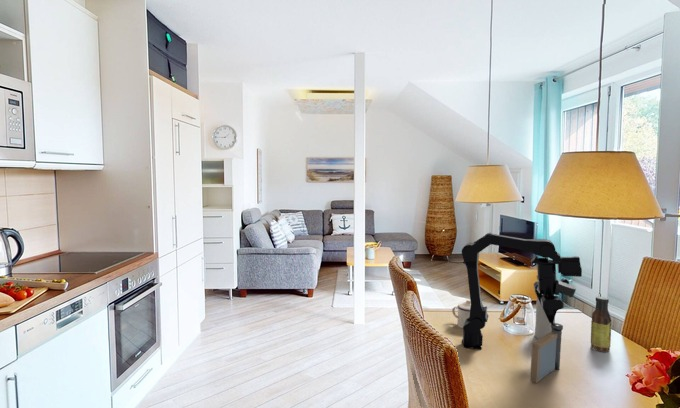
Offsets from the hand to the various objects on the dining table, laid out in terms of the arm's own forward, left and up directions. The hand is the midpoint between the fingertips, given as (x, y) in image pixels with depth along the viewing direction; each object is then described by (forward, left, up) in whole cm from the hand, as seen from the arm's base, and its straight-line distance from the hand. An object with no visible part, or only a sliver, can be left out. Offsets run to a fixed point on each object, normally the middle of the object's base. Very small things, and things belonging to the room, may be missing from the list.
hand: (548, 317), depth 133 cm
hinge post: (0, -7, -15) cm, 17 cm away
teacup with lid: (-25, +25, -15) cm, 38 cm away
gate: (-5, -14, -15) cm, 21 cm away
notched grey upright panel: (+8, +22, -15) cm, 28 cm away
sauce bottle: (+23, +13, -15) cm, 30 cm away
